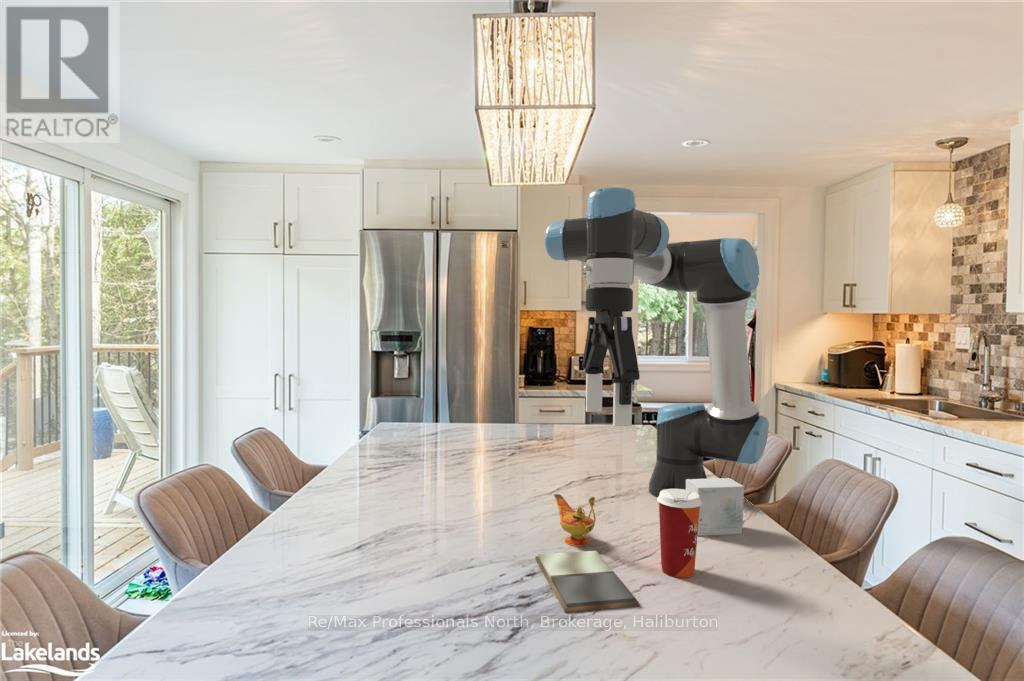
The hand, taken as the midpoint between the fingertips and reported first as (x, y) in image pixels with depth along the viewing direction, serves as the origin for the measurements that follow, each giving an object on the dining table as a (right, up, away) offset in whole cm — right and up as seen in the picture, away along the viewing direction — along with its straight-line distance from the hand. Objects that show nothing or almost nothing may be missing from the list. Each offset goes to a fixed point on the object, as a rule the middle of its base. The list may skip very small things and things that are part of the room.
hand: (607, 418), depth 96 cm
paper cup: (+14, -29, +10) cm, 34 cm away
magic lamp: (-3, -28, +25) cm, 38 cm away
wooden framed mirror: (-3, -29, +6) cm, 29 cm away
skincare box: (+28, -28, +31) cm, 50 cm away
